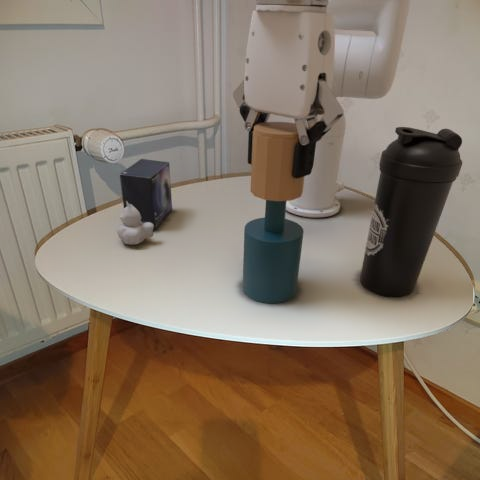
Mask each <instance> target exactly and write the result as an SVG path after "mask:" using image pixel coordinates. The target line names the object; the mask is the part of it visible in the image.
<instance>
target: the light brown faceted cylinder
mask: <svg viewBox="0 0 480 480" xmlns="http://www.w3.org/2000/svg"><path fill="white" fill-rule="evenodd" d="M308 130H309V128H308ZM298 143H300V140H299V136H298V132H297V128H296V124H295V122H289V121H267V122H265V123H259V124H257V125H255V126H254V131H253V141H252V165H251V164H250V166H251V167H250V169H251V170H250V190H249V191H250V193H251V194H252V195H253V196H254V197H256V198H259V199H261V200H265V201H266V200H271V201H290V200H294V199H297V198H299V197H301V195H302V193H303V186H304V177H305V176H304V177H301V178H298V179H296V178H293V176H292V169H293V159H294V148H295V145H296V144H298Z"/></svg>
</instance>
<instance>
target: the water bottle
mask: <svg viewBox="0 0 480 480" xmlns="http://www.w3.org/2000/svg"><path fill="white" fill-rule="evenodd" d="M394 132H395V134H396V135H397V138H396V139H394V140H393V141H391V142H390V143H389V144H388V145H387V146H386V149H384V150H383V151H382V152H381V155H380V160H379V171H380V172H379V177H378V183H377V188H376V193H375V199H374V202H373V207H372V213H371V218H370V223H369V228H368V233H367V239H366V244H365V249H364V255H363V260H362V265H361V271H360V276H359V282H360V284H361V285H362V287H363V288H364V289H365V290H366V291H368V292H370V293H372V294H374V295H377V296H379V297H384V298H390V299H391V298H392V299H394V298H395V299H396V298H398V299H400V298H405V297H408V296H410V295H412V294H413V293H414V291H415V288H416V285H417V283H418V280H419V278H420V275H421V272H422V268H423V266H424V263H425V260H426V258H427V255H428V252H429V250H430V246H431V244H432V242H433V238H434V236H435V232H436V230H437V227H438V225H439V221H440V219H441V217H442V213H443V211H444V208H445V206H446V203H447V199H448V197H449V195H450V192H451V188H452V186H453V183H454V182H455V181H456V180H457V178H458V177H459V175H460V172H461V169H462V166H463V160H462V159H461V153H460V151H459V150H460V148H461V146H462V144H463V140H462V136H460V134H458V133H456V132H455V131H453V130H452V129H450V128H441V129H440V130H439V131H437V133H435V132H430V131H426V130H423V129H419V128H414V127H409V126H408V127H407V126H398V127H395V131H394Z"/></svg>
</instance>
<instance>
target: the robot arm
mask: <svg viewBox="0 0 480 480" xmlns="http://www.w3.org/2000/svg"><path fill="white" fill-rule="evenodd" d="M255 4H256V5H255V10H252V14H251V20H250V25H249V31H248V36H247V37H248V38H247V44H246V53H245V63H244V64H245V65H244V79H243V80H242V81H241V83H240V84H239V85H238V86H237V87H236V89H235V90H234V91H233V93H232V95H233V99H234V101H235V103H236V105H237V108H238V109H239V114H240V116H241V118H242V120H243V121H244V129H245V131H246V132H248V138H247V139H248V140H247V141H248V142H247V164H248V165H250V166H251V165H252V141H253V131H254V126H255V125H257V124H259V123H265V122H269V121H268V120H269V119H270V116H271V115H273V116H274V115H275V116H280V117H283V118H289V119H293V120H294V123H295V124H296V128H297V132H298V136H299V140H300V143H298V144H296V145H295V148H294V159H293V169H292V176H293V178H296V179H298V178H301V177H304V176H305V177H304V186H303V193H302V195H301V197H299V198H297V199H294V200H290V201H287V202H286V212H289V213H290V214H292V215H296V216H298V217H299V216H300V217H305V218H314V219H315V218H326V217H331V216H334V215H336V214H338V213H339V211H340V209H341V203H340V201H339V200H337V199H336V195H337V193H339V192H342V191H344V190H345V184H344V182H342V181H339V182H338V176H339V169H340V163H341V158H342V151H343V145H344V138H345V134H346V127H347V122H346V116H345V112H344V108H343V107H342V106H341V104H340V102H339V101H338V99H337V98H354V99H366V100H368V99H369V100H377V99H382V98H384V97H385V96H387V94H388V93H389V92H390V91H391V90H392V86H393V83H394V81H395V77H396V73H397V68H398V64H399V59H400V54H401V50H402V45H403V39H404V35H405V30H406V25H407V19H408V15H409V10H410V5H411V0H256V1H255ZM335 30H343V31H359V32H361V31H362V32H373V33H374V34H375V36H366V35H365V36H364V35H352V34H335V32H336V31H335ZM308 128H309V130H308Z"/></svg>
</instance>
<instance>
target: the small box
mask: <svg viewBox="0 0 480 480" xmlns="http://www.w3.org/2000/svg"><path fill="white" fill-rule="evenodd" d="M119 182H120V190H121V196H122V206H123V209H124V208H125V207H127V204H126V201H127V202H128V203H129V204H132V205H133V206H134V207H135V208H136V209H137V210H138V211H139V213H140V215H141V220H140V221H141V222H142V223H146V222H149V223H152V224H153V225H154V228H153V231H156V230H157V229H158V228H159V226H161V225H162V224H163V222H164V221H165V220H166V219H167V218H168V217H169V215H171V213H172V212H173V200H172V187H171V186H172V185H171V169H170V162H169V161H163V160H162V161H161V160H156V159H155V160H154V159H148V158H147V159H146V158H140V159H139V160H137V161H136V162H135V163H133V164H132V165H130V166H128V167H127V168H126V169H125V170H123V171H121V172H120V173H119Z"/></svg>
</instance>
